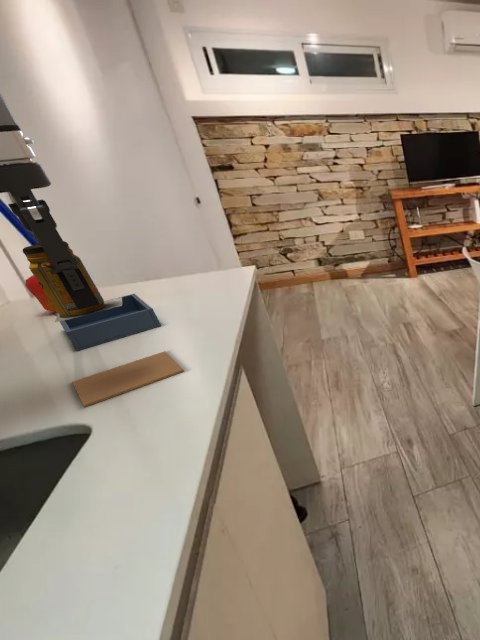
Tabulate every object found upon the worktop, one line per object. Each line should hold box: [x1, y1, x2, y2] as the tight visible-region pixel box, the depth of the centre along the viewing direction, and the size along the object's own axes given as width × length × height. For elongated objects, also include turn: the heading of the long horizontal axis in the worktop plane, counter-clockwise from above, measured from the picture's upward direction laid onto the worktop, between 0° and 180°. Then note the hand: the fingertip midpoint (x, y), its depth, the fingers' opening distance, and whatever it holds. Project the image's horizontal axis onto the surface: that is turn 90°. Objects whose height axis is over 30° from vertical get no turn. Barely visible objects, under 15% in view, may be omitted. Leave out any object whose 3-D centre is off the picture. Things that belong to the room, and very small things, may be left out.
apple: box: [24, 274, 57, 314], centre depth 125 cm, size 9×8×12 cm
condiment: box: [22, 240, 123, 323], centre depth 81 cm, size 7×8×12 cm
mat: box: [71, 350, 185, 408], centre depth 89 cm, size 14×14×1 cm
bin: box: [54, 293, 162, 352], centre depth 112 cm, size 15×20×4 cm
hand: (85, 302), depth 83 cm, fingers closed on condiment, 6 cm apart
